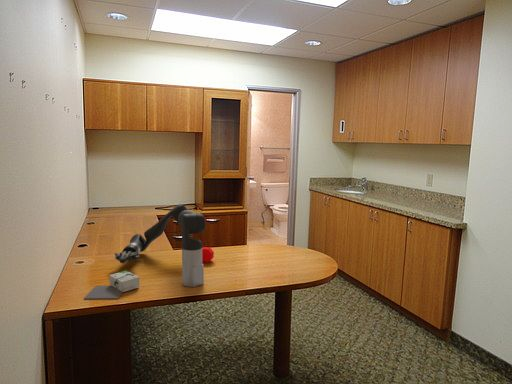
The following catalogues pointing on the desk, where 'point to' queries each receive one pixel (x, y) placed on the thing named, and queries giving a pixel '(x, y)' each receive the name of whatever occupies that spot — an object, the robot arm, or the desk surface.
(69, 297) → the desk surface
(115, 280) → the ink box
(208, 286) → the desk surface
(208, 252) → the ball
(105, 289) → the charcoal mat
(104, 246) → the desk surface
